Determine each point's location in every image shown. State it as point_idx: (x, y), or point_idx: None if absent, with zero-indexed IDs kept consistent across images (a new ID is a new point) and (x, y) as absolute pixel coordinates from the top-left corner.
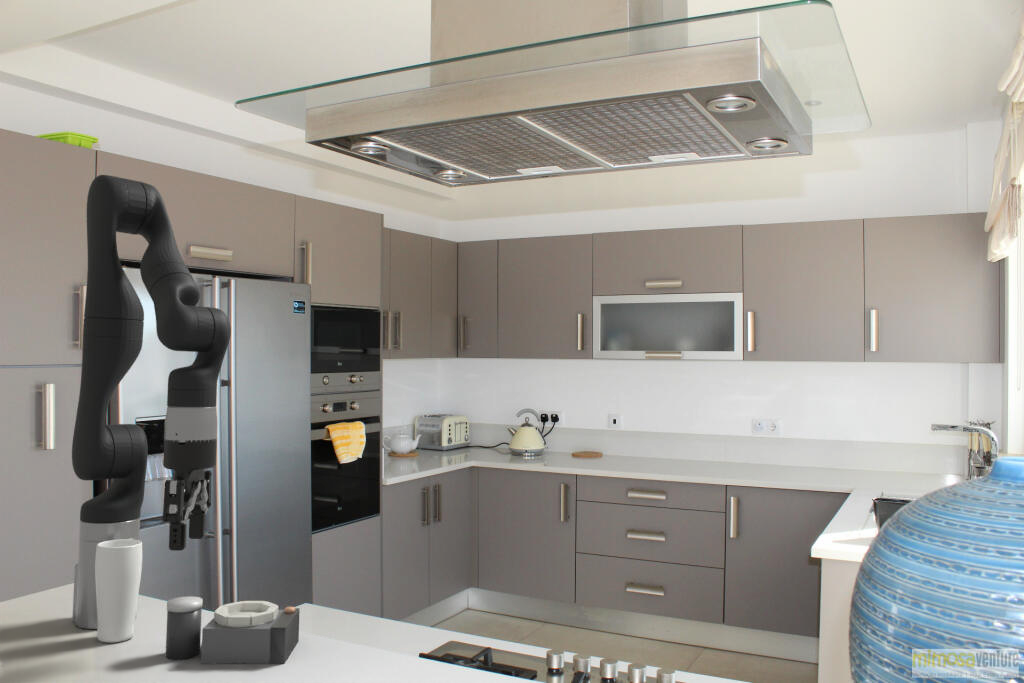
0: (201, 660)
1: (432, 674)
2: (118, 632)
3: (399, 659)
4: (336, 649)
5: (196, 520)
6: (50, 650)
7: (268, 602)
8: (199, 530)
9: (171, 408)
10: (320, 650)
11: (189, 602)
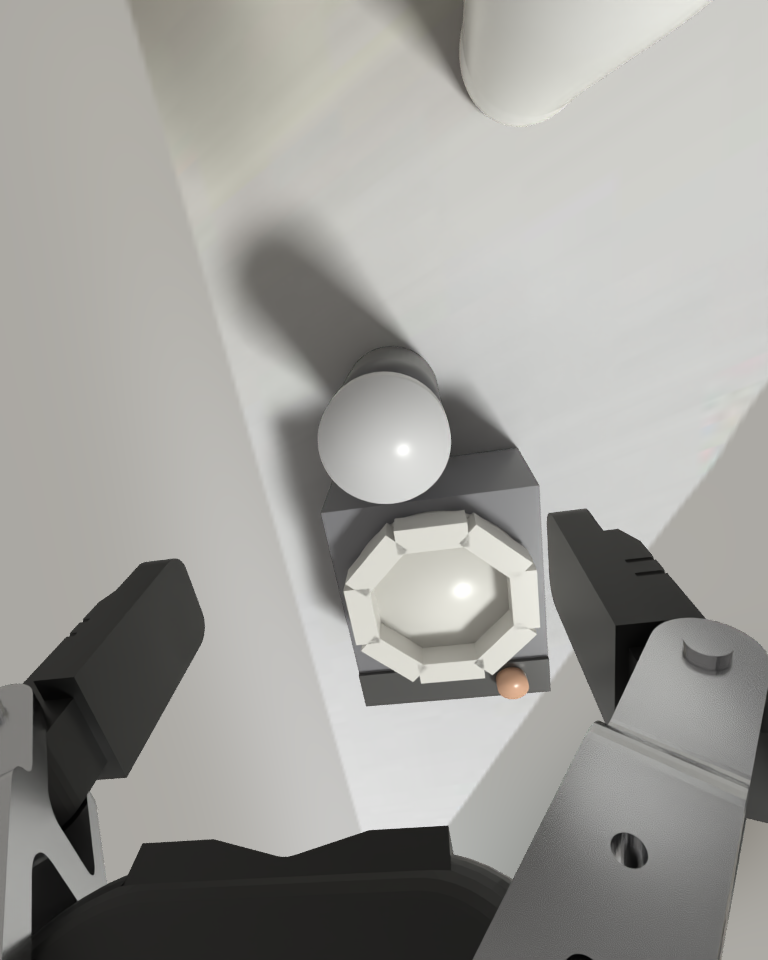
0: None
1: None
2: (474, 90)
3: (434, 808)
4: (480, 707)
5: (593, 646)
6: None
7: (521, 643)
8: (568, 609)
9: None
10: None
11: (367, 469)
